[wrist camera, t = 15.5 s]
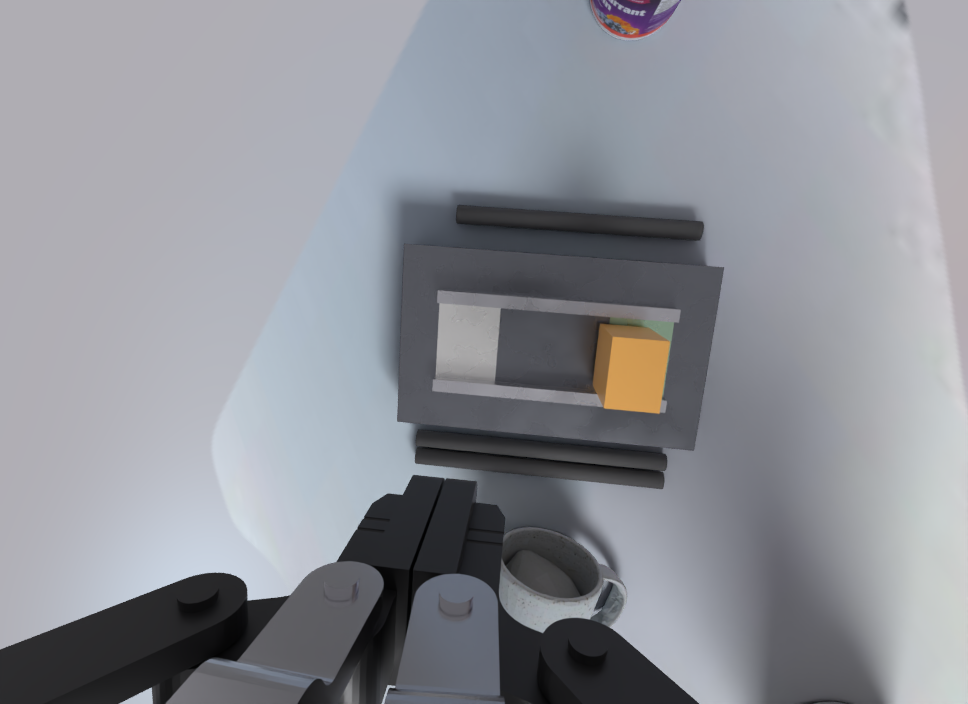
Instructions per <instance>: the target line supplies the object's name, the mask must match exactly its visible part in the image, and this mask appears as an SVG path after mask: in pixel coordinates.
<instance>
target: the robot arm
mask: <svg viewBox="0 0 968 704" xmlns="http://www.w3.org/2000/svg"><path fill="white" fill-rule="evenodd" d="M476 496H477V481H467V480H458V479H448V478H446V480H445V479H444V478H438V477H428V476H419V475H413V476H412V478H411V480H410V482H409V484H408V486H407V488H406V490H405V492H404V494H403V495H397V494H386V495H385V496H383V497H382V498H380V499H379V500H377V501H375V502H374V503H372V505H371V506H370V508H369V510H368V511H367V513H366V515H365V516H364V519H362V521H361V523H360V524H359V526H358V529H357V530H356V531H355V532H354V534H353V536H352V537H351V539H350V541H349V542H348V544H347V546H346V547H345V549H344V550H343V552H342V554H341V555H340V557H339V559H338V560H337V562H335V563H331V564H327V565H324V566H322V567H320V568H317V569H316V570H314V571H312V572H311V573H310V574H308V575H307V576H306V577H305V578H304V579H303V580H302V582H301V583H300V584H299V585H298V587H297V588H296V589H295V590H294V592H293V593H292V594H291V595H290V596H284V597H278V598H269V599H259V600H251V601H247V587H246V584H245V583H244V581H242V580H241V579H240V578H238V577H237V576H234V575H231V574H226V573H206V574H201V575H196V576H192V577H189V578H186V579H183V580H180V581H178V582H175V583H173V584H170V585H167V586H165V587H162V588H160V589H157V590H154V591H152V592H149V593H147V594H144V595H141V596H139V597H136V598H133V599H131V600H128V601H126V602H123V603H120V604H118V605H115V606H113V607H110V608H107V609H105V610H102V611H100V612H97V613H95V614H92V615H89V616H87V617H84V618H81V619H79V620H76V621H74V622H71V623H68V624H66V625H63V626H61V627H58V628H55V629H53V630H50V631H48V632H45V633H42V634H40V635H37V636H35V637H32V638H30V639H27V640H24V641H21V642H19V643H16V644H14V645H11V646H8V647H6V648H3V649H1V650H0V704H119V703H121V702H123V701H125V700H127V699H129V698H131V697H133V696H135V695H137V694H139V693H141V692H143V691H145V690H147V689H149V688H151V687H152V696H153V704H381V703H382V700H383V697H384V694H385V691H386V688H387V685H393V686H395V688H389V690H388V693H387V696H386V699H385V703H384V704H699V703H698V702H697V701H695V700H694V699H693V698H692V697H691V696H690V695H689V694H687V693H686V692H685V691H684V690H683V689H682V688H680V687H679V686H678V685H677V684H676V683H675V682H674V681H672V680H671V679H670V678H669V677H668V676H667V675H665V674H664V673H663V672H662V671H661V670H660V669H659V668H657V667H656V666H655V665H654V664H653V663H652V662H650V661H649V660H648V659H647V658H646V657H645V656H643V655H642V654H641V653H640V652H639V651H638V650H637V649H635V648H634V647H633V646H632V645H631V644H630V643H628V642H627V641H626V640H625V639H624V638H623V637H622V636H620V635H619V634H618V633H617V632H615V631H614V630H613V629H611V628H609V627H608V626H606V625H604V624H601V623H599V622H596V621H593V620H590V619H585V618H566V619H561V620H558V621H556V622H554V623H552V624H551V625H549V626H548V627H547V628H546V629H545V631H544V632H543V633H542V632H539V631H536V630H534V629H531V628H529V627H527V626H525V625H523V624H521V623H519V622H518V621H516V620H515V619H514V618H512V617H511V616H510V615H509V614H508V613H507V612H506V610H505V609H504V607H503V606H502V604H501V602H500V598H499V584H500V572H501V560H502V549H503V537H504V525H505V517H504V515H503V514H502V512H501V511H500V509H499V508H498V506H497V505H491V504H481V503H476ZM813 704H846V703H839V702H818V703H813Z"/></svg>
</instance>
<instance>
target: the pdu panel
mask: <svg viewBox="0 0 968 704" xmlns="http://www.w3.org/2000/svg"><path fill="white" fill-rule="evenodd" d="M723 271H724V267H713V266H700V265H687V264H673V263H660V262H646V261H632V260H619V259H605V258H592V257H578V256H565V255H551V254H537V253H524V252H510V251H497V250H483V249H469V248H456V247H442V246H429V245H415V244H404V261H403V287H402V312H401V338H400V363H399V389H398V415H397V422H408V423H418V424H428V425H438V426H448V427H458V428H469V429H479V430H489V431H499V432H509V433H520V434H530V435H540V436H550V437H560V438H571V439H581V440H591V441H601V442H611V443H621V444H632V445H642V446H652V447H662V448H672V449H683V450H693V451H694V447H695V441H696V435H697V429H698V423H699V417H700V411H701V404H702V398H703V392H704V386H705V380H706V374H707V368H708V362H709V356H710V350H711V344H712V338H713V332H714V326H715V320H716V314H717V308H718V302H719V296H720V290H721V284H722V277H723ZM600 324H612V325H624V326H636V327H648V328H650V329H651V330H653V331H655V332H656V333H658V334H659V335H661V336H662V337H664V338H665V339H667V340H669V341H670V346H669V353H668V360H667V367H666V373H665V380H664V387H663V393H662V400H661V407H660V414H658V413H647V412H637V411H626V410H615V409H605V408H603V406H602V404H601V401H600V399H599V397H598V395H597V393H596V391H595V389H594V387H593V377H594V368H595V360H596V351H597V343H598V335H599V326H600Z"/></svg>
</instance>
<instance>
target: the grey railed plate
mask: <svg viewBox="0 0 968 704" xmlns="http://www.w3.org/2000/svg"><path fill="white" fill-rule="evenodd" d="M456 222H457V223H458V224H472V225H486V226H500V227H514V228H529V229H543V230H557V231H571V232H585V233H600V234H614V235H628V236H642V237H657V238H671V239H685V240H700V239H701V237H702V234H703V229H704V225H703V222H700V221H685V220H670V219H656V218H641V217H626V216H611V215H597V214H582V213H567V212H552V211H538V210H523V209H508V208H493V207H479V206H464V205H458V206H457V212H456ZM416 446H423V447H432V448H442V449H452V450H462V451H472V452H482V453H492V454H502V455H511V456H521V457H531V458H541V459H551V460H561V461H571V462H581V463H590V464H600V465H610V466H620V467H630V468H640V469H650V470H660V471H665V470H666V468H667V456H666V454H660V453H650V452H640V451H630V450H620V449H610V448H600V447H590V446H579V445H569V444H559V443H549V442H539V441H529V440H519V439H509V438H499V437H489V436H478V435H468V434H458V433H448V432H438V431H428V430H418V431H417V435H416ZM415 463H416V464H425V465H435V466H444V467H454V468H464V469H473V470H483V471H493V472H502V473H512V474H521V475H531V476H541V477H550V478H560V479H570V480H579V481H589V482H599V483H608V484H618V485H628V486H637V487H647V488H656V489H663V487H664V474H663V472H657V471H647V470H637V469H627V468H618V467H608V466H598V465H588V464H578V463H568V462H558V461H548V460H539V459H529V458H519V457H509V456H499V455H489V454H479V453H470V452H460V451H450V450H440V449H430V448H420V447H417V449H416V454H415Z"/></svg>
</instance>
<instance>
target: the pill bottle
mask: <svg viewBox="0 0 968 704" xmlns="http://www.w3.org/2000/svg"><path fill="white" fill-rule="evenodd" d="M680 1H681V0H590V5H591V10H592V13H593V15H594V18H595V20H596V21H597V23H598V24H599V26H600V27H601V28H602V29H603V30H604V31H605V32H606V33H608V34H609V35H611V36H613V37H615V38H617V39H620V40H626V41H634V40H640V39H643V38H646V37H648V36H650V35H652V34H653V33H655V32H656V31H658V30H659V29H660V28H661V27H662V26H663V25H664V24H665V23H666V22H667V20H668V19H669V18H670V17H671V15H672V14H673V12H674V11H675V9H676V8H677V6H678V4H679V3H680Z"/></svg>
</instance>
